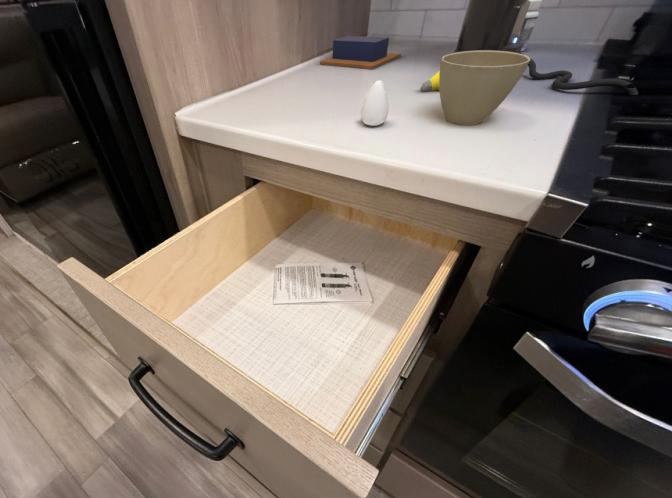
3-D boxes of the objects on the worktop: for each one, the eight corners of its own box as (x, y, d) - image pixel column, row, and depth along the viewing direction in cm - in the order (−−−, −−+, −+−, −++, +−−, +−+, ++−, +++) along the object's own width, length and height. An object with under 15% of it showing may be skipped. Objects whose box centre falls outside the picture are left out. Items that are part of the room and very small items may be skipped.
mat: (400, 56, 76) (401, 53, 75) (372, 69, 70) (372, 65, 69) (349, 53, 83) (349, 50, 82) (319, 64, 77) (319, 61, 76)
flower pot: (514, 131, 42) (543, 64, 36) (431, 132, 43) (448, 67, 38) (493, 107, 48) (516, 47, 43) (423, 108, 50) (436, 51, 45)
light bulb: (459, 89, 55) (464, 68, 52) (423, 103, 56) (426, 84, 53) (451, 77, 57) (454, 57, 54) (416, 92, 58) (418, 72, 55)
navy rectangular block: (386, 56, 75) (389, 37, 72) (373, 62, 72) (376, 42, 69) (345, 53, 80) (347, 35, 78) (332, 58, 77) (333, 40, 75)
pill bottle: (495, 50, 74) (512, 0, 68) (512, 47, 74) (531, -3, 68) (512, 53, 70) (531, 1, 64) (529, 50, 71) (550, -2, 65)
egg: (387, 120, 48) (394, 76, 44) (384, 129, 45) (392, 83, 41) (361, 119, 49) (366, 76, 45) (357, 128, 46) (362, 83, 42)
